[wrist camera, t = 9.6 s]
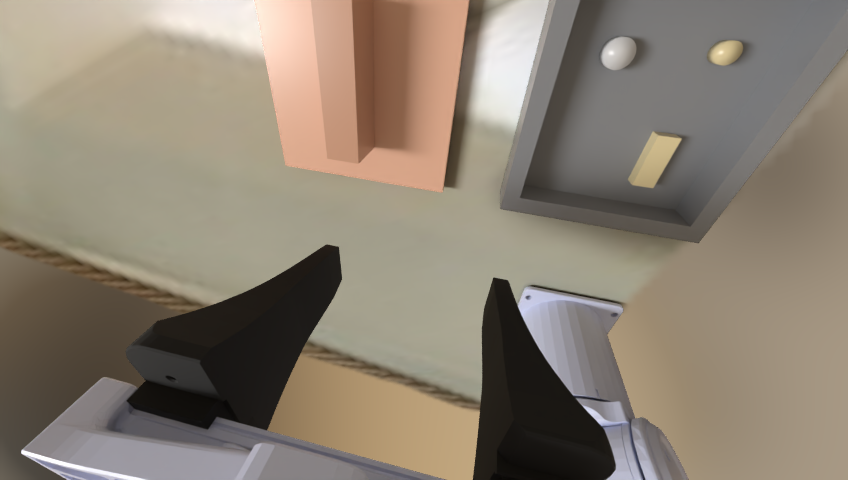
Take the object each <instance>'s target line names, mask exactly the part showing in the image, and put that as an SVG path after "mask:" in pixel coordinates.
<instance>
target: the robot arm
mask: <svg viewBox="0 0 848 480" xmlns="http://www.w3.org/2000/svg"><path fill="white" fill-rule="evenodd" d="M341 280H342V274H341V264H340V254H339V247H337V246H332V245H325V246H323V247H322V248H320V249H319V250H317V251H316V252H314V253H313V254H311V255H310V256H308V257H307V258H305V259H304V260H302V261H300V262H299V263H297V264H296V265H294V266H293V267H291V268H289V269H288V270H286V271H284V272H282V273H281V274H279V275H277V276H276V277H274V278H272V279H270V280H269V281H267V282H265V283H263V284H261V285H259V286H257V287H255V288H253V289H250V290H248V291H246V292H244V293H242V294H239V295H237V296H234V297H232V298H229V299H227V300H224V301H222V302H219V303H217V304H214V305H211V306H208V307H205V308H202V309H199V310H196V311H193V312H189V313H186V314H182V315H178V316H175V317H171V318H167V319H164V320H160V321H157V322H156V323H155V324H153V325H152V326H151V327H150V328H149V329H148V330H147V331H146V332H144V333H143V334H142V335H141V336H140V337H139V338H138V339H136V340H135V341H134V342H133V343H132V344H131V345H130V346H129V347H128V348H127V350H126V355H127V358H128V360H129V361H130V363H131V364H132V365H133V366H134V367H135V369H136V370H137V371H138V372H139V373H140V375H141V376H142V377H143V378H144V379H145V380H146V381H145V382H144V383H143V384H142V385H141V386H140V387H139V388H137V387H135V386H134V385H131V384H129V383H126V382H122V381H118V380H114V379H111V378H107V377H104V378H102V379H100V380H99V381H98V382H97V383H96V384H95V385H94V386H92V387H91V388H90V389H89V390H88V391H87V392H86V393H85V394H84V395H83V396H81V397H80V398H79V399H78V400H77V401H76V402H75V403H74V404H73V405H71V406H70V407H69V408H68V409H67V410H66V411H65V412H64V413H63V414H62V415H60V416H59V417H58V418H57V419H56V420H55V421H54V422H52V423H51V424H50V425H49V426H48V427H47V428H46V429H45V430H44V431H42V432H41V433H40V434H39V435H38V436H37V437H36V438H35V439H34V440H32V441H31V442H30V443H29V444H28V445H27V446H26V447H25V448H24V449H22V452H21V453H22V454H23V455H25V456H27V457H28V458H30V459H32V460H34V461H35V462H37V463H39V464H41V465H43V466H45V467H46V468H48V469H50V470H51V471H53V472H55V473H57V474H59V475H60V476H62V477H64V478H66V479H67V480H445V479H441V478H438V477H434V476H431V475H427V474H423V473H420V472H416V471H412V470H408V469H405V468H401V467H398V466H394V465H391V464H387V463H383V462H379V461H376V460H372V459H369V458H365V457H361V456H357V455H354V454H350V453H347V452H343V451H340V450H336V449H332V448H329V447H325V446H321V445H318V444H314V443H310V442H306V441H303V440H299V439H295V438H292V437H289V436H285V435H281V434H278V433H274V432H270V431H267V429H268V427H269V424H270V421H271V419H272V416H273V414H274V411H275V409H276V407H277V404H278V402H279V399H280V397H281V395H282V392H283V390H284V388H285V385H286V383H287V381H288V378H289V377H290V374H291V372H292V370H293V368H294V366H295V364H296V361H297V360H298V357H299V355H300V353H301V351H302V349H303V347H304V345H305V343H306V342H307V340H308V338H309V336H310V335H311V333H312V332H313V330H314V328H315V327H316V325H317V324H318V322H319V320H320V319H321V317H322V316H323V314H324V312H325V311H326V309H327V308H328V306H329V304H330V303H331V301H332V299H333V298H334V296H335V294H336V291H337V289H338V287H339V285H340V282H341ZM528 295H530V296H528ZM622 313H623V307H622V305H621V304H617V303H612V302H607V301H602V300H597V299H592V298H587V297H582V296H577V295H572V294H567V293H562V292H557V291H552V290H547V289H542V288H537V287H531V286H529V287H526V288H525V289H524V291H523V294H522V296H521V299H520V301H519V304H518V306H517V303H516V301H515V298H514V295H513V293H512V290H511V287H510V284H509V282H508V280H504V279H498V278H493V281H492V284H491V287H490V291H489V294H488V297H487V301H486V304H485V308H484V315H483V324H482V395H481V407H480V418H479V429H478V438H477V448H476V457H475V466H474V475H473V480H689V479H688V477H687V475H686V473H685V471H684V469H683V467H682V465H681V463H680V461H679V459H678V457H677V455H676V453H675V451H674V450H673V448H672V446H671V444H670V442H669V441H668V439H667V438H666V436H665V435H664V433H663V432H662V431H661V430H660V429H659V428H658V427H656V426H655V425H653V424H651V423H650V422H649V421H648V420H647V419H645V418H642V417H641V418H636V419H635V416H634V413H633V410H632V407H631V405H630V401H629V398H628V395H627V392H626V389H625V386H624V383H623V380H622V378H621V374H620V371H619V369H618V366H617V363H616V360H615V357H614V354H613V351H612V348H611V345H610V342H609V339H608V336H607V334H608V332H609V331H610V330H611V328H612V327H613V325H614V324H615V322H616V321H617V320H618V318H619V317H620V315H621V314H622Z"/></svg>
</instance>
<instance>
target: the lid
mask: <svg viewBox="0 0 848 480" xmlns="http://www.w3.org/2000/svg"><path fill="white" fill-rule="evenodd" d="M254 1H255V7H256V12H257V17H258V22H259V28H260V33H261V38H262V43H263V49H264V54H265V59H266V65H267V70H268V75H269V80H270V86H271V91H272V96H273V101H274V107H275V112H276V117H277V122H278V128H279V133H280V138H281V143H282V149H283V154H284V159H285V164H286V166H291V167H297V168H303V169H309V170H314V171H320V172H326V173H332V174H338V175H343V176H349V177H355V178H361V179H367V180H372V181H378V182H384V183H390V184H395V185H401V186H407V187H413V188H419V189H424V190H430V191H436V192H443V189H444V183H445V175H446V168H447V161H448V154H449V147H450V140H451V132H452V125H453V118H454V111H455V104H456V96H457V89H458V82H459V75H460V68H461V60H462V53H463V46H464V39H465V32H466V25H467V17H468V10H469V3H470V0H254Z"/></svg>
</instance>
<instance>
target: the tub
mask: <svg viewBox="0 0 848 480" xmlns="http://www.w3.org/2000/svg"><path fill="white" fill-rule="evenodd" d="M847 50H848V0H550V1H549V5H548V9H547V12H546V16H545V20H544V24H543V28H542V32H541V36H540V40H539V43H538V47H537V51H536V55H535V59H534V63H533V67H532V71H531V74H530V78H529V82H528V86H527V90H526V94H525V98H524V101H523V105H522V109H521V113H520V117H519V121H518V125H517V129H516V132H515V136H514V140H513V144H512V148H511V152H510V156H509V160H508V163H507V167H506V171H505V175H504V179H503V183H502V187H501V191H500V209H503V210H509V211H515V212H520V213H526V214H532V215H538V216H544V217H549V218H555V219H561V220H567V221H572V222H578V223H584V224H590V225H596V226H601V227H607V228H613V229H619V230H625V231H630V232H636V233H642V234H648V235H653V236H659V237H665V238H671V239H677V240H682V241H688V242H694V243H699V242H700V241H701V239H702V238H703V237H704V236H705V234H706V233H707V231H708V230H709V229H710V228H711V226H712V225H713V224H714V223H715V221H716V220H717V219H718V217H719V216H720V215H721V213H722V212H723V211H724V210H725V208H726V207H727V206H728V204H729V203H730V202H731V200H732V199H733V198H734V197H735V195H736V194H737V193H738V191H739V190H740V189H741V188H742V186H743V185H744V184H745V182H746V181H747V180H748V178H749V177H750V176H751V175H752V173H753V172H754V171H755V169H756V168H757V167H758V165H759V164H760V163H761V162H762V160H763V159H764V158H765V156H766V155H767V154H768V152H769V151H770V150H771V149H772V147H773V146H774V145H775V143H776V142H777V141H778V139H779V138H780V137H781V136H782V134H783V133H784V132H785V130H786V129H787V128H788V127H789V125H790V124H791V123H792V121H793V120H794V119H795V117H796V116H797V115H798V114H799V112H800V111H801V110H802V108H803V107H804V106H805V104H806V103H807V102H808V101H809V99H810V98H811V97H812V95H813V94H814V93H815V91H816V90H817V89H818V88H819V86H820V85H821V84H822V82H823V81H824V80H825V79H826V77H827V76H828V75H829V73H830V72H831V71H832V69H833V68H834V67H835V66H836V64H837V63H838V62H839V60H840V59H841V58H842V56H843V55H844V54H845V53H846V51H847Z"/></svg>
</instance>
